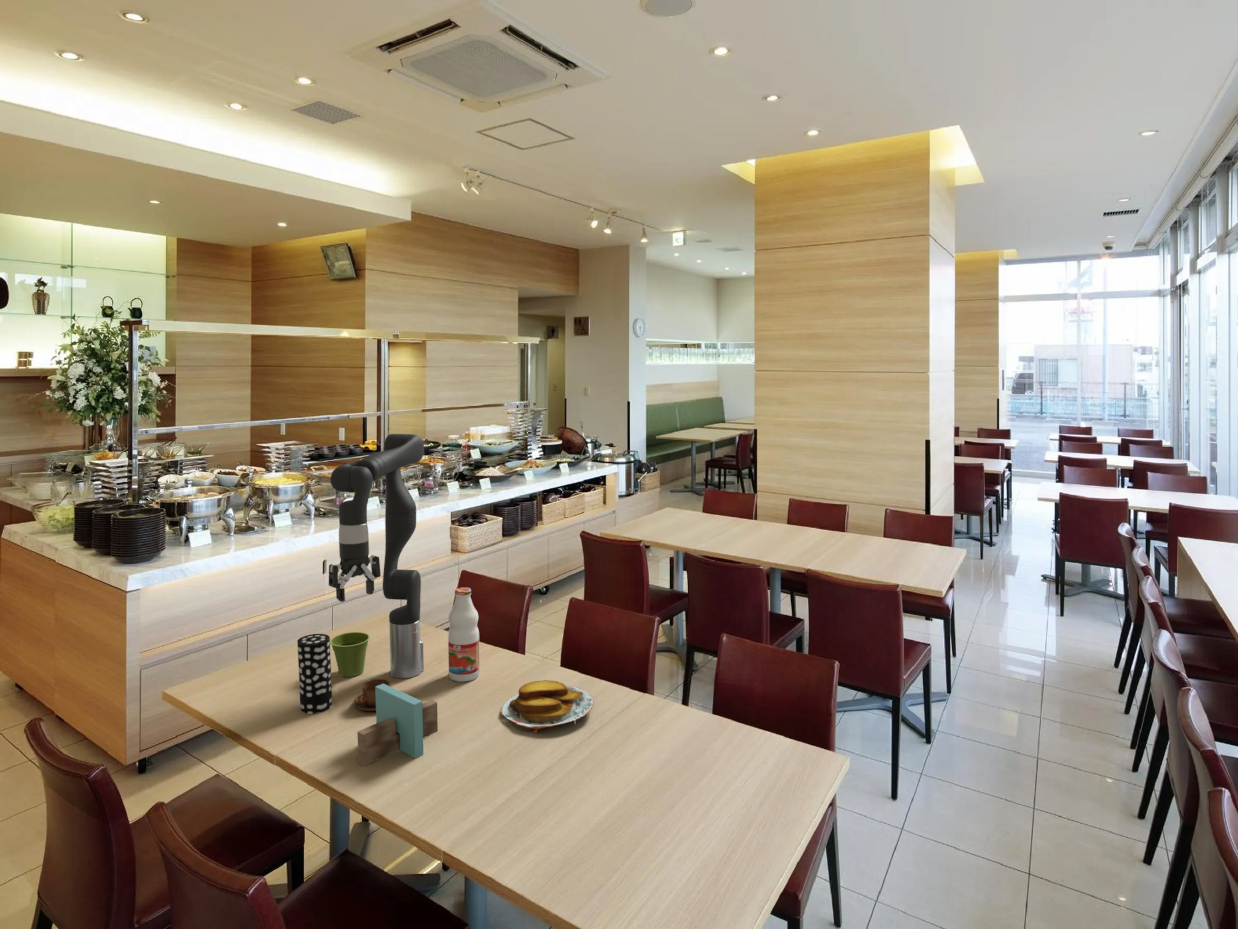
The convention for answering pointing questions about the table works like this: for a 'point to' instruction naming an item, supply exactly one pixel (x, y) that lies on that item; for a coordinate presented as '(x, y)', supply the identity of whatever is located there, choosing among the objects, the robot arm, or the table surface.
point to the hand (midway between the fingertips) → (355, 597)
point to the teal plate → (402, 717)
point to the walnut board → (391, 735)
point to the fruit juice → (463, 638)
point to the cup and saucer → (369, 695)
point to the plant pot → (350, 652)
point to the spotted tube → (314, 673)
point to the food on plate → (547, 704)
